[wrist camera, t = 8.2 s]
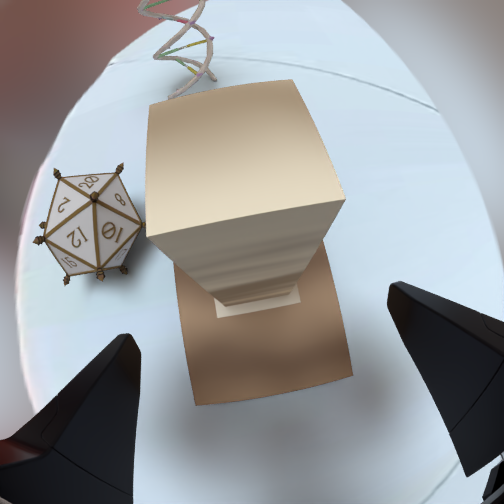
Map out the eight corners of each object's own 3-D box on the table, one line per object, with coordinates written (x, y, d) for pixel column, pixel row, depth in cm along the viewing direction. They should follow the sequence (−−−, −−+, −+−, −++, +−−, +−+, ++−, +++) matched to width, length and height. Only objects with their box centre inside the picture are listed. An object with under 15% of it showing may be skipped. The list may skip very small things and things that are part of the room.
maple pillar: (289, 294, 17) (345, 198, 5) (225, 306, 16) (146, 236, 5) (275, 234, 18) (292, 79, 6) (215, 246, 18) (149, 105, 6)
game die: (120, 245, 24) (65, 160, 18) (189, 228, 21) (128, 116, 15) (72, 318, 18) (-6, 223, 12) (140, 322, 15) (31, 181, 9)
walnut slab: (344, 371, 17) (353, 375, 15) (202, 398, 17) (195, 405, 15) (294, 171, 22) (297, 156, 20) (175, 193, 21) (167, 180, 19)
